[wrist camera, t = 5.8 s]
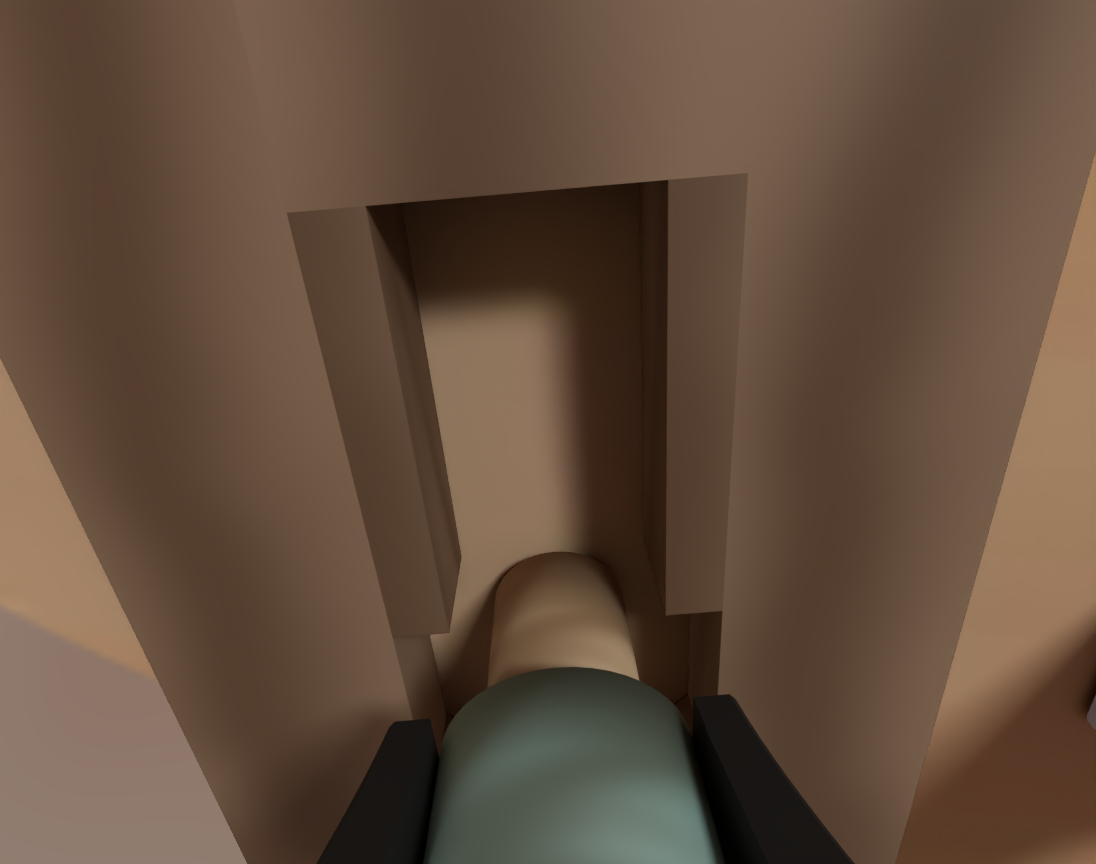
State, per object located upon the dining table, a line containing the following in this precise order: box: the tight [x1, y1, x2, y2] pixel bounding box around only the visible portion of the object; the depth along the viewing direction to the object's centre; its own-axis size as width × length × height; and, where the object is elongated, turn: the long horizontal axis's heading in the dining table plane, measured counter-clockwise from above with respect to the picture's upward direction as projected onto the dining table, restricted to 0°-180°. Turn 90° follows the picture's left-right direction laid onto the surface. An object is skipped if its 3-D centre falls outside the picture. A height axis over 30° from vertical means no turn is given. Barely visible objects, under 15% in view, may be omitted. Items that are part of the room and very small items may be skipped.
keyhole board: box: [0, 0, 1096, 864], centre depth 12 cm, size 16×22×2 cm
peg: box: [423, 552, 725, 864], centre depth 11 cm, size 4×4×7 cm
